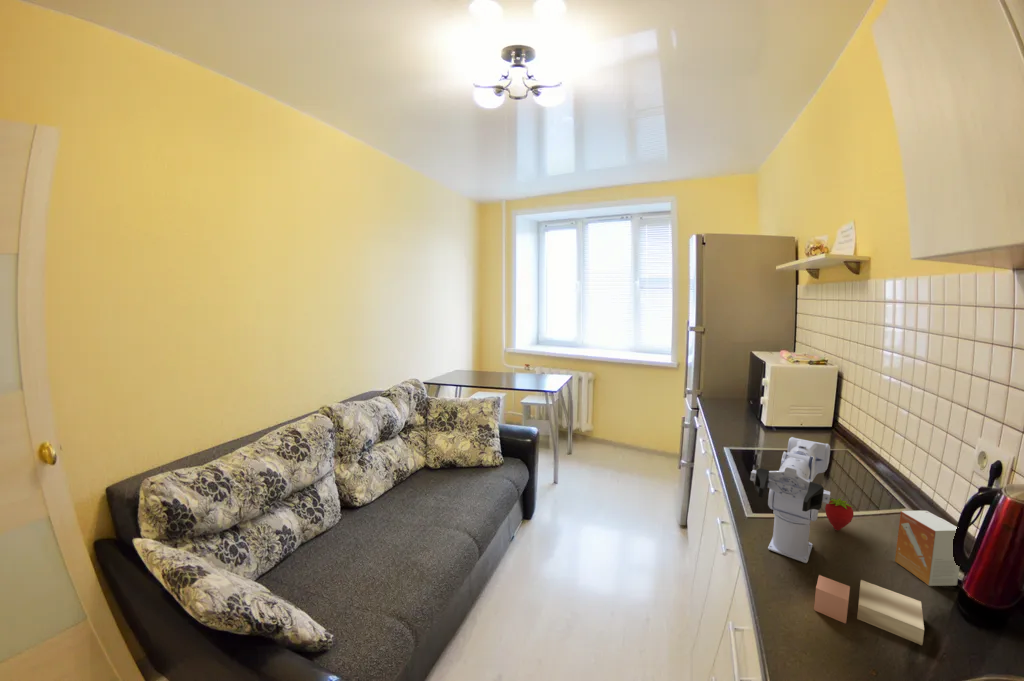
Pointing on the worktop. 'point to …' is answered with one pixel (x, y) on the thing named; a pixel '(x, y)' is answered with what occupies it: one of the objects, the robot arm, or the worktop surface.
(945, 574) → the small box
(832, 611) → the terracotta cube
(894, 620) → the birch base block
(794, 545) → the robot arm
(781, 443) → the worktop surface
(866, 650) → the worktop surface
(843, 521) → the strawberry
